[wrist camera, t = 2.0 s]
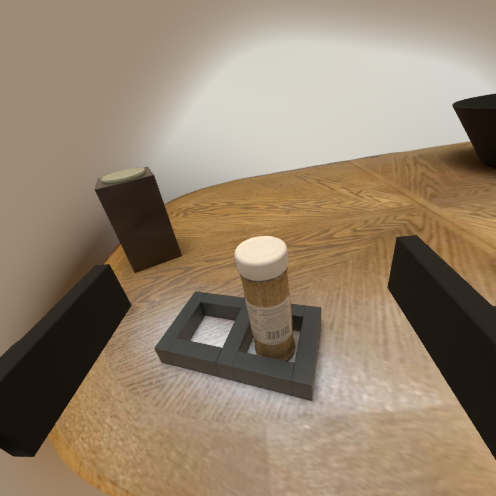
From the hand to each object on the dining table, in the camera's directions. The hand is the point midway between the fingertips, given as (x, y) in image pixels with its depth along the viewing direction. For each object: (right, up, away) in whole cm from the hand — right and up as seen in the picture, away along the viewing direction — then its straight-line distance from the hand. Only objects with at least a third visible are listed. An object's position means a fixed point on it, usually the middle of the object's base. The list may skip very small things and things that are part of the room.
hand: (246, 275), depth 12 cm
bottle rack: (-1, -10, +18) cm, 20 cm away
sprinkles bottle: (+3, -10, +16) cm, 19 cm away
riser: (-19, 0, +39) cm, 43 cm away
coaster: (-21, +14, +31) cm, 40 cm away
